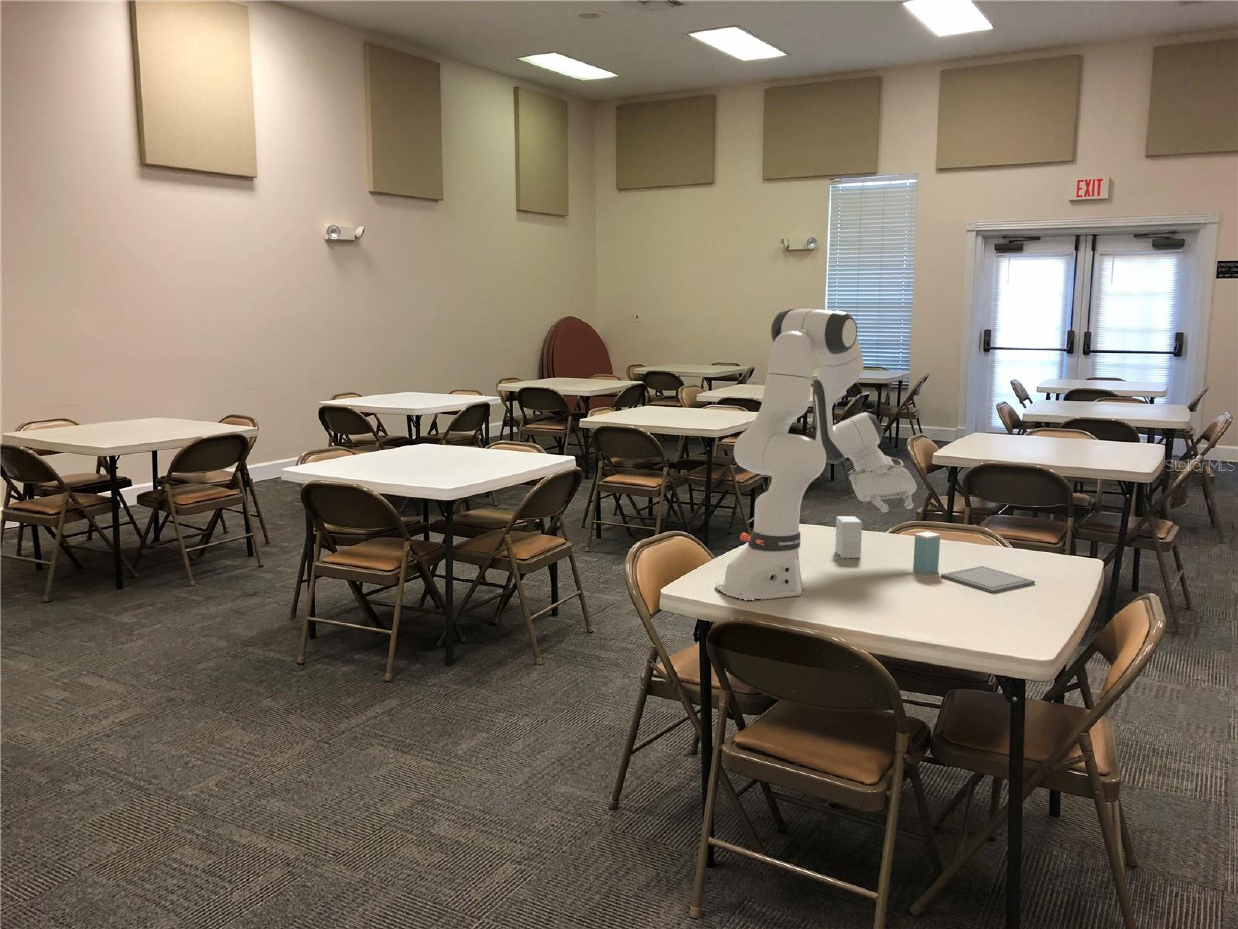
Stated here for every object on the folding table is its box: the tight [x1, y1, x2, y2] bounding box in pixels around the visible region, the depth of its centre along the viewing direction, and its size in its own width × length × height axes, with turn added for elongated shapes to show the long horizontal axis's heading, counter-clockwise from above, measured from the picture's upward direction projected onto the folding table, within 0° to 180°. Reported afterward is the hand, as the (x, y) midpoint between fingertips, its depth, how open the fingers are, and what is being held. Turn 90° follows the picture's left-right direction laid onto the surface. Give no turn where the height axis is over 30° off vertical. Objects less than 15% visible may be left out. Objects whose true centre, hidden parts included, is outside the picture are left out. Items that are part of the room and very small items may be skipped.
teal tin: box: [912, 531, 942, 575], centre depth 239 cm, size 5×4×10 cm
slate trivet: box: [940, 566, 1036, 594], centre depth 231 cm, size 16×16×1 cm
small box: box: [834, 515, 863, 559], centre depth 256 cm, size 8×6×10 cm
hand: (898, 509), depth 247 cm, fingers open, 8 cm apart
